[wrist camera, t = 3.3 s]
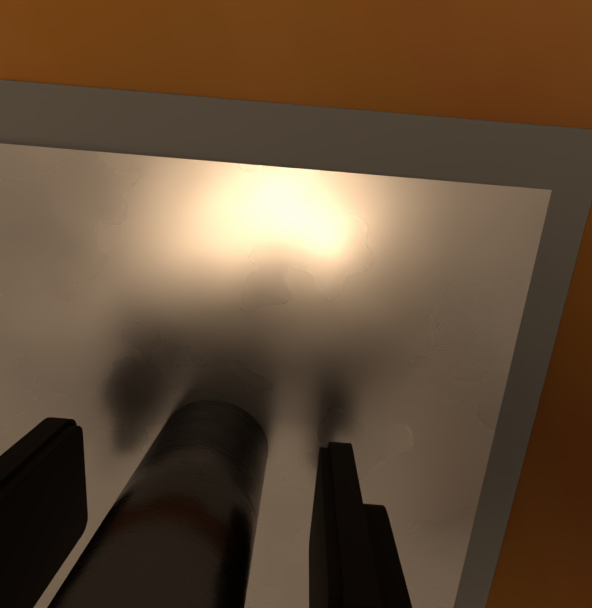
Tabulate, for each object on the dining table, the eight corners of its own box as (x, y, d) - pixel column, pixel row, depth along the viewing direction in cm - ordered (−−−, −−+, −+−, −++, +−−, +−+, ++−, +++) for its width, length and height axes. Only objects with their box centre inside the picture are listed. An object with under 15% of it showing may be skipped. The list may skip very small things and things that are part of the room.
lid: (532, 191, 10) (1006, 164, 3) (430, 645, 13) (549, 1068, 7) (-70, 140, 10) (-845, 10, 3) (-5, 606, 14) (-300, 988, 7)
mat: (597, 133, 10) (610, 130, 9) (461, 667, 14) (466, 681, 14) (-125, 73, 10) (-142, 67, 9) (-33, 623, 14) (-42, 635, 14)
